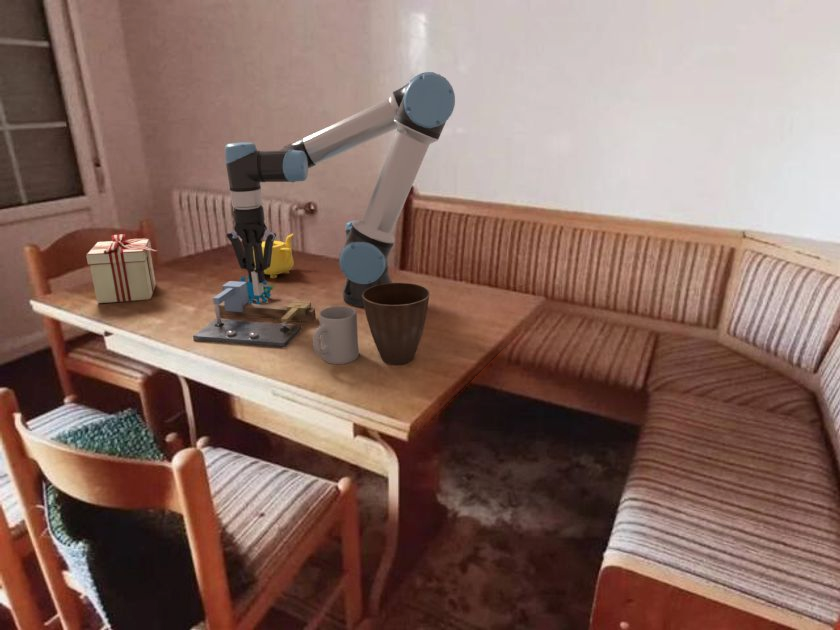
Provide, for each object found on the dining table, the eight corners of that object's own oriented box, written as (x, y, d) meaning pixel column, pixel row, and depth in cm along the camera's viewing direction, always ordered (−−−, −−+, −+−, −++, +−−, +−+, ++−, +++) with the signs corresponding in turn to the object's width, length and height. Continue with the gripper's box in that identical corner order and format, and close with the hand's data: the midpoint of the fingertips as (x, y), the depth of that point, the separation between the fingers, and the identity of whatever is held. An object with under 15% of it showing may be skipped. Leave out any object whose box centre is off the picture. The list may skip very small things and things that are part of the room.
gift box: (166, 297, 173) (155, 241, 166) (96, 306, 167) (83, 248, 160) (166, 280, 187) (157, 228, 181) (102, 288, 181) (90, 234, 175)
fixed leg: (311, 310, 158) (310, 302, 157) (293, 329, 146) (292, 320, 145) (294, 309, 159) (293, 300, 158) (274, 328, 147) (273, 318, 146)
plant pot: (351, 362, 133) (348, 296, 127) (390, 339, 144) (388, 278, 138) (405, 379, 125) (403, 310, 119) (441, 353, 137) (442, 289, 131)
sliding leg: (250, 306, 161) (246, 281, 158) (227, 324, 149) (223, 297, 146) (233, 305, 162) (229, 280, 159) (209, 323, 150) (205, 296, 147)
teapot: (298, 278, 189) (295, 242, 185) (252, 281, 186) (248, 245, 182) (296, 265, 202) (293, 232, 197) (253, 268, 199) (249, 234, 194)
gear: (241, 304, 162) (233, 273, 166) (236, 314, 167) (228, 284, 170) (279, 301, 169) (270, 272, 172) (273, 311, 173) (264, 282, 177)
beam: (315, 318, 157) (315, 308, 156) (312, 322, 155) (311, 311, 154) (220, 311, 162) (218, 301, 161) (215, 315, 160) (214, 304, 159)
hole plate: (301, 329, 150) (301, 322, 149) (284, 347, 140) (283, 340, 139) (216, 323, 154) (215, 316, 154) (193, 340, 144) (192, 332, 144)
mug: (339, 345, 141) (336, 303, 137) (366, 354, 137) (364, 310, 133) (303, 363, 132) (299, 319, 128) (330, 373, 128) (327, 327, 124)
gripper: (277, 203, 150) (287, 290, 158) (231, 202, 152) (243, 287, 161) (265, 209, 143) (275, 299, 152) (216, 208, 145) (229, 297, 154)
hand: (259, 293), depth 156 cm, fingers closed
